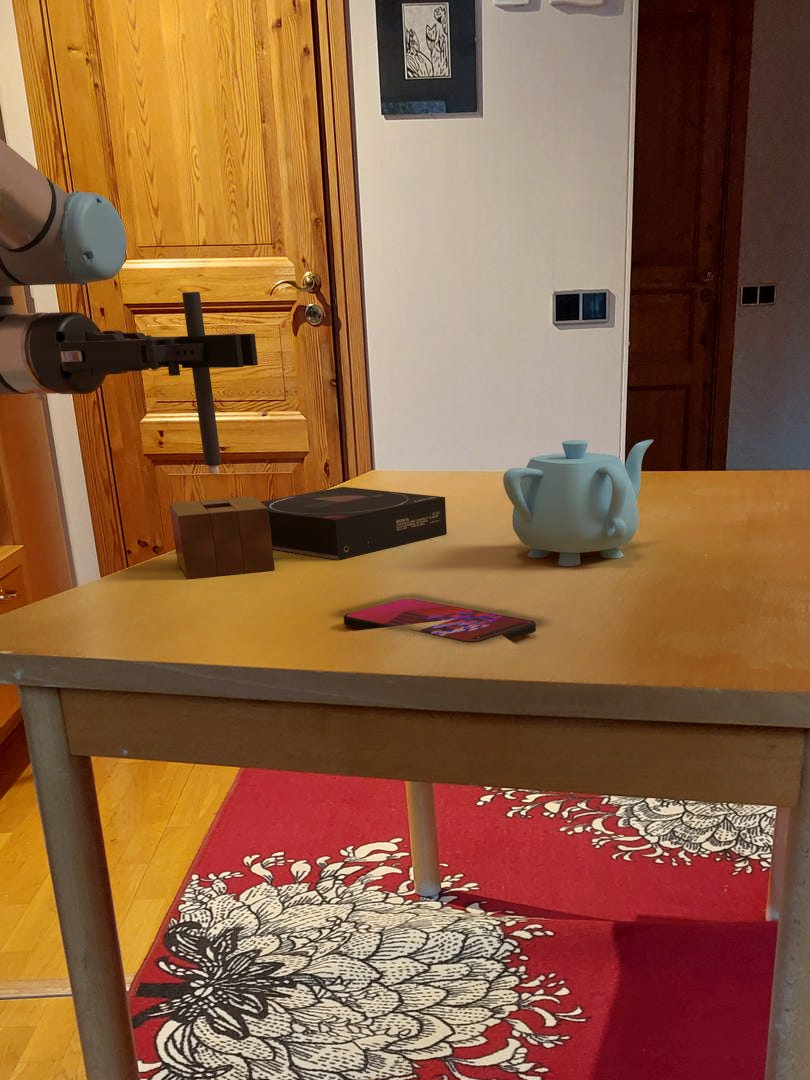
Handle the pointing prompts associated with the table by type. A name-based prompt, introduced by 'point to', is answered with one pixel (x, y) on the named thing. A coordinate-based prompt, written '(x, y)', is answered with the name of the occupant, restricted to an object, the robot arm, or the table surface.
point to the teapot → (576, 502)
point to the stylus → (203, 386)
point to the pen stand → (222, 536)
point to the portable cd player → (353, 521)
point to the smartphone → (462, 628)
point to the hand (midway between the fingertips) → (246, 350)
